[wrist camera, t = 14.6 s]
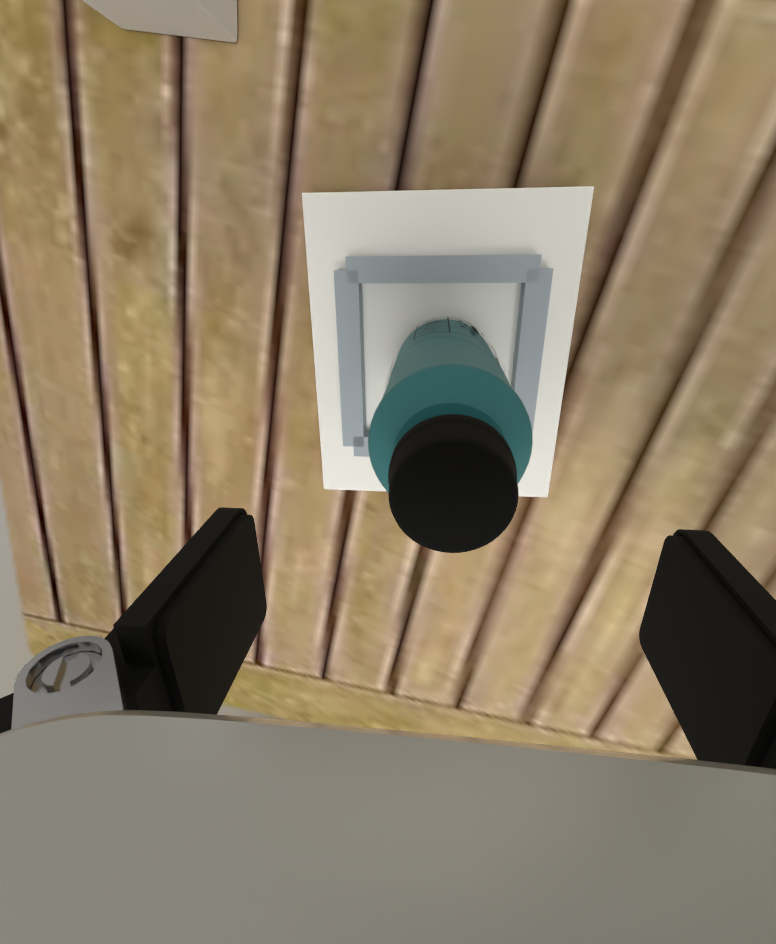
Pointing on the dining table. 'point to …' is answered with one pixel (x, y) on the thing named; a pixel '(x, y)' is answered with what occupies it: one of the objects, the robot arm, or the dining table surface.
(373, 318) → the display stand
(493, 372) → the beverage bottle
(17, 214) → the dining table surface
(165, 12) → the milk carton
